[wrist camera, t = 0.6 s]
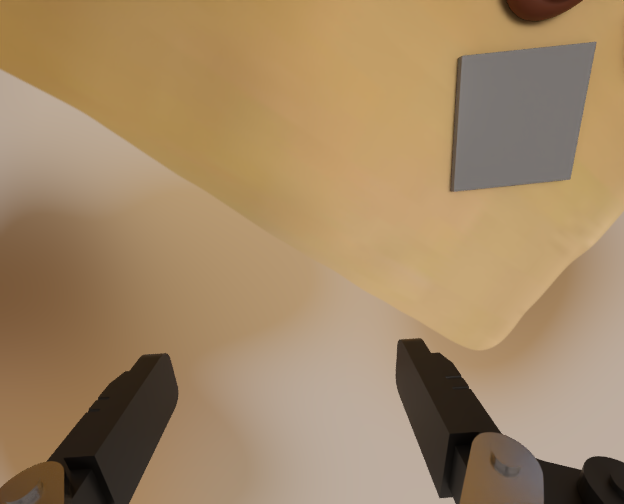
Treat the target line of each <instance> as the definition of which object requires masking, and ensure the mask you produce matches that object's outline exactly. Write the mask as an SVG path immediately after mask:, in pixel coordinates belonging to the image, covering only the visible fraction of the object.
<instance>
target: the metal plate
mask: <svg viewBox="0 0 624 504" xmlns="http://www.w3.org/2000/svg"><path fill="white" fill-rule="evenodd" d="M595 47H596V42H589V43H580V44H571V45H561V46H552V47H542V48H533V49H523V50H514V51H504V52H495V53H485V54H476V55H466V56H461V57H459V58H458V72H457V89H456V106H455V123H454V140H453V157H452V174H451V191H453V192H454V191H464V190H474V189H483V188H493V187H502V186H512V185H521V184H531V183H541V182H550V181H560V180H569V179H570V178H571V173H572V167H573V162H574V157H575V152H576V146H577V141H578V136H579V131H580V126H581V120H582V115H583V110H584V105H585V99H586V94H587V89H588V84H589V78H590V73H591V68H592V63H593V58H594V52H595Z"/></svg>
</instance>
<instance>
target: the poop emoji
mask: <svg viewBox="0 0 624 504" xmlns="http://www.w3.org/2000/svg"><path fill="white" fill-rule="evenodd" d="M506 1H507V3H508V5H509V7H510V9H511V10H512V11H513V12H514V13H515V14H516V15H517V16H518V17H520V18H522V19H525V20H529V21H539V20H545V19H549V18H552V17H555V16H557V15H559V14H562V13H564V12H565V11H567V10H569V9H571V8H572V7H574V6H575V5H577V4H578V3H580V2H581V1H583V0H506Z"/></svg>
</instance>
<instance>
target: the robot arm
mask: <svg viewBox="0 0 624 504" xmlns="http://www.w3.org/2000/svg"><path fill="white" fill-rule="evenodd" d="M396 384H397V389H398V392H399V395H400V398H401V401H402V403H403V406H404V408H405V411H406V413H407V416H408V418H409V421H410V424H411V426H412V429H413V431H414V434H415V436H416V439H417V441H418V444H419V446H420V449H421V452H422V454H423V457H424V459H425V462H426V464H427V467H428V470H429V472H430V475H431V477H432V480H433V482H434V485H435V487H436V490H437V493H438V495H439V497H440V498H448V497H453V498H454V500H455V503H456V504H624V463H623V462H621V461H618V460H615V459H612V458H608V457H600V456H597V457H591V458H589V459H587V460H586V462H585V463H584V465H583V468H582V470H579V469H575V468H571V467H567V466H562V465H558V464H554V463H550V462H545V461H542V460H539V459H537V458H535V457H534V456H533V455H532V453H531V452H530V451H529V450H528V449H527V448H525V447H524V446H523V445H521V444H520V443H519V442H517V441H516V440H514V439H512V438H510V437H508V436H506V435H503V434H502V433H501V432H500V431H499V429H498V428H497V426H496V425H495V424H494V422H493V421H492V419H491V418H490V416H489V415H488V413H487V412H486V411H485V409H484V408H483V406H482V405H481V403H480V402H479V400H478V399H477V398H476V396H475V395H474V393H473V392H472V390H471V389H469V386H468V384H467V383H466V382H465V380H464V379H463V378H462V377H461V374H460V373H459V371H458V370H457V369H456V367H455V366H454V364H453V363H452V362H451V361H449V360H448V359H447V358H445V357H444V356H443V355H442V354H440V353H431V352H430V351H429V349H428V348H427V346H426V344H425V343H424V341H423V340H422V339H420V338H418V339H402V340H399V341H398V345H397V362H396ZM177 400H178V386H177V383H176V378H175V375H174V371H173V367H172V364H171V360H170V357H169V355H168V354H166V353H164V354H148V355H142V356H141V357H140V358H139V359H138V361H137V362H136V363H135V365H134V366H133V367H132V369H131V370H130V371H126V372H124V373H123V374H121V375H120V376H119V377H117V378H116V379H115V380H114V381H112V382H111V383H110V384H109V385H108V386H107V387H106V389H105V390H104V391H103V392H102V394H101V395H100V396H99V397H98V400H96V401H95V402H94V404H93V405H92V406H91V407H90V408H89V411H88V413H85V415H84V416H83V417H82V418H81V420H80V421H79V422H78V423H77V424H76V426H75V427H74V428H73V429H72V431H71V432H70V433H69V435H68V436H67V437H66V438H65V439H64V441H63V442H62V443H61V444H60V445H59V447H58V448H57V449H56V450H55V452H54V453H53V454H52V455H51V457H50V458H49V459H48V460H47V461H46V462H43V463H40V464H37V465H34V466H32V467H30V468H27V469H26V470H24V471H22V472H20V473H19V474H17V475H16V476H14V477H13V478H12V479H10V480H9V481H8V482H7V483H5V484H4V485H3V486H2V487H1V488H0V504H129V502H130V500H131V498H132V496H133V494H134V492H135V490H136V488H137V486H138V483H139V482H140V480H141V477H142V475H143V473H144V471H145V469H146V467H147V465H148V463H149V461H150V459H151V457H152V455H153V453H154V451H155V448H156V446H157V444H158V442H159V440H160V438H161V436H162V434H163V432H164V430H165V428H166V426H167V423H168V421H169V419H170V418H171V415H172V413H173V411H174V409H175V407H176V404H177Z"/></svg>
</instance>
